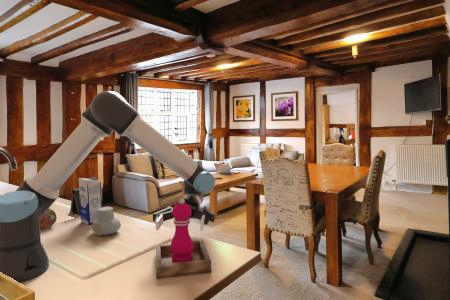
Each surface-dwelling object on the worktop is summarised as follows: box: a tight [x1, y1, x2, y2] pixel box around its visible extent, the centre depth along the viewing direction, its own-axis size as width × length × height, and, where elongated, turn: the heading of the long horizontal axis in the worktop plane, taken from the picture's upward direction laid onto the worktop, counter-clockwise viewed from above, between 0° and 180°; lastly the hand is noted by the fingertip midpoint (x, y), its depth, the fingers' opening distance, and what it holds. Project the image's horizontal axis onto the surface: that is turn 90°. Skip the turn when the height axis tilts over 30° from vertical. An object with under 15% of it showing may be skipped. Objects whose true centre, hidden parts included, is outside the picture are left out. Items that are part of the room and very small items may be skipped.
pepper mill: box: [170, 198, 193, 263], centre depth 99 cm, size 7×7×20 cm
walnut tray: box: [155, 240, 212, 279], centre depth 100 cm, size 16×16×4 cm
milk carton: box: [78, 176, 104, 227], centre depth 138 cm, size 7×7×20 cm
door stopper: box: [69, 187, 81, 217], centre depth 152 cm, size 9×6×12 cm, turn 52°
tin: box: [39, 208, 58, 231], centre depth 130 cm, size 15×3×8 cm, turn 126°
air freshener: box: [91, 206, 122, 237], centre depth 126 cm, size 11×8×10 cm
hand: (179, 226), depth 95 cm, fingers open, 13 cm apart
